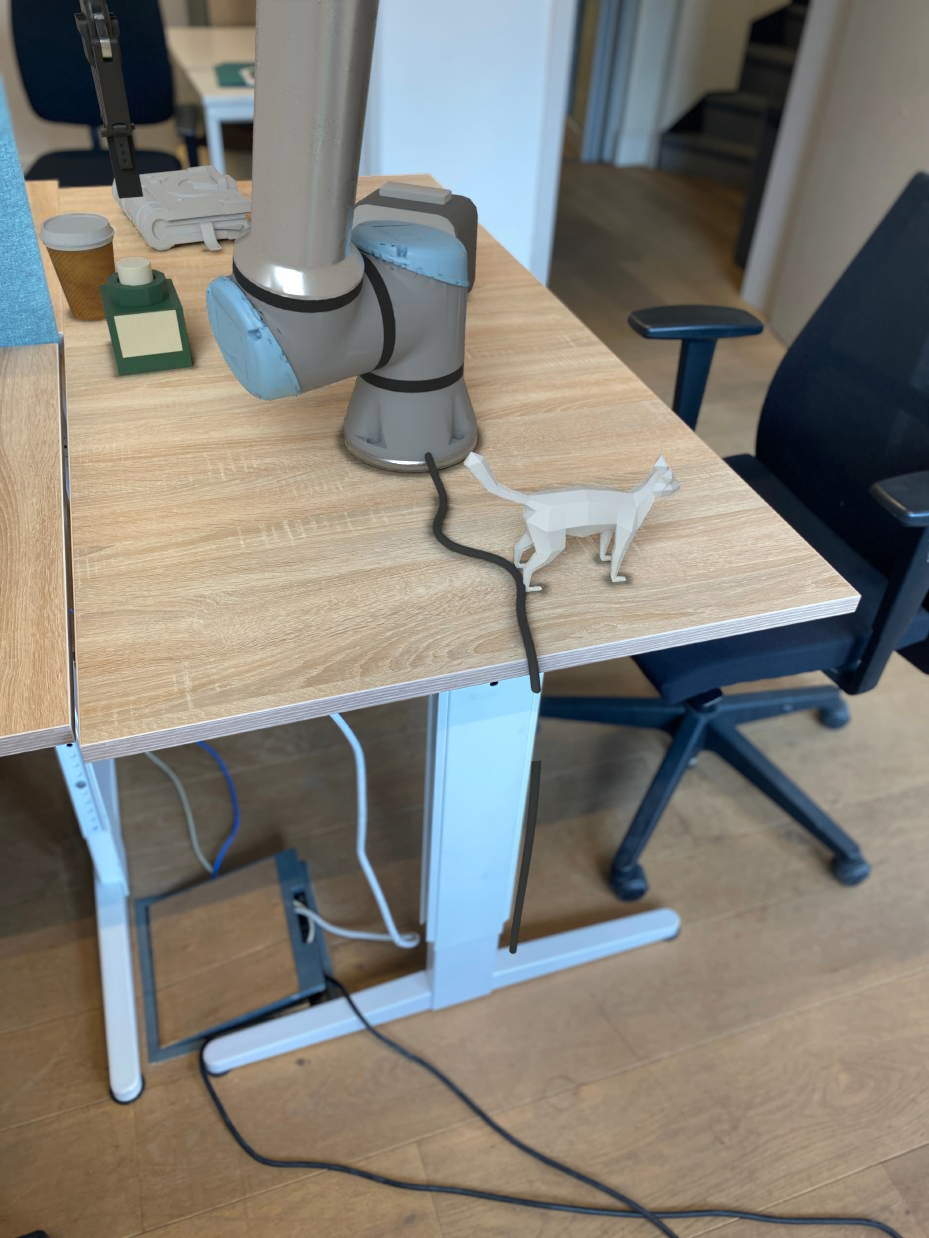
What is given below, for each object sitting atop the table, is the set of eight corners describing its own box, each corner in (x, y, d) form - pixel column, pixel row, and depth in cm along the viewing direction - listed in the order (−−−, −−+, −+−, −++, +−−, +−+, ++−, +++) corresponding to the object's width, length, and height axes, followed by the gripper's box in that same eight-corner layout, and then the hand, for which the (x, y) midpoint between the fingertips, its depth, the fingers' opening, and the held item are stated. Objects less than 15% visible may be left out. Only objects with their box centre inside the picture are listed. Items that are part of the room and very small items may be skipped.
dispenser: (192, 367, 115) (179, 289, 109) (119, 376, 113) (101, 297, 106) (181, 335, 122) (168, 261, 116) (111, 343, 120) (94, 267, 113)
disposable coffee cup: (143, 304, 130) (126, 217, 122) (106, 329, 123) (85, 239, 115) (85, 295, 132) (64, 208, 124) (45, 319, 125) (20, 229, 117)
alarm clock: (351, 302, 133) (346, 190, 123) (381, 276, 142) (378, 169, 132) (455, 320, 130) (459, 206, 120) (479, 293, 138) (485, 184, 128)
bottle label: (182, 350, 114) (175, 310, 110) (123, 358, 111) (114, 316, 108) (182, 350, 114) (175, 309, 110) (122, 357, 111) (113, 316, 108)
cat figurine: (669, 579, 86) (700, 448, 76) (463, 600, 82) (469, 466, 73) (652, 551, 89) (680, 423, 80) (453, 570, 85) (458, 438, 76)
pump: (155, 285, 111) (152, 266, 109) (121, 289, 109) (117, 269, 108) (151, 274, 113) (148, 255, 112) (118, 277, 112) (114, 258, 111)
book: (153, 264, 142) (144, 213, 137) (115, 211, 161) (105, 165, 156) (271, 248, 150) (266, 199, 144) (221, 200, 168) (215, 155, 163)
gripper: (128, -49, 87) (172, 209, 102) (113, -60, 96) (155, 178, 111) (45, -49, 85) (102, 215, 100) (38, -61, 94) (91, 183, 109)
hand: (130, 195), depth 106 cm, fingers closed
